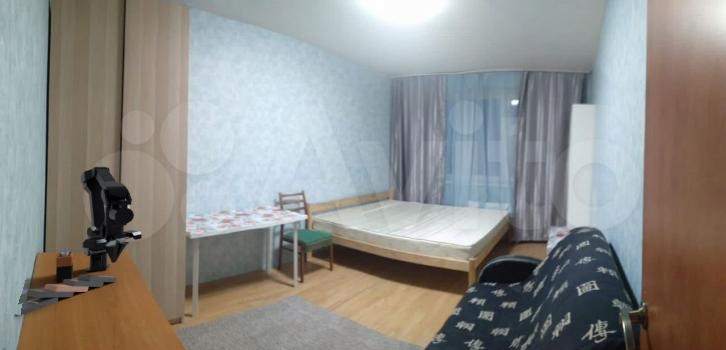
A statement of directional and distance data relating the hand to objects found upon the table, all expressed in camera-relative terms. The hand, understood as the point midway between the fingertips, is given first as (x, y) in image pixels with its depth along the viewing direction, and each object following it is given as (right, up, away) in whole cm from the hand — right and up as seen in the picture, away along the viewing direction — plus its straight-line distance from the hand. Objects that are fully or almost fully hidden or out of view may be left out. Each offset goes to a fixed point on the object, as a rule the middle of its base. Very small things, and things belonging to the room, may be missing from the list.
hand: (113, 262), depth 129 cm
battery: (-17, -6, -1) cm, 18 cm away
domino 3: (-3, -6, -11) cm, 13 cm away
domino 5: (0, -6, -1) cm, 6 cm away
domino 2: (-5, -6, -20) cm, 21 cm away
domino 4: (-2, -6, -6) cm, 8 cm away
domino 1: (-4, -6, -15) cm, 17 cm away
